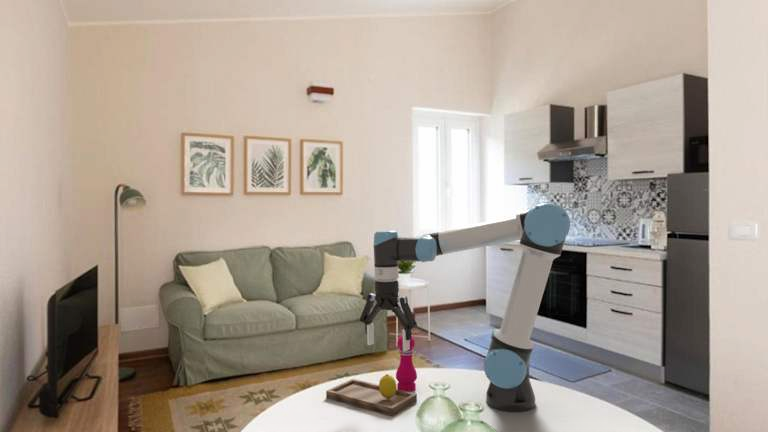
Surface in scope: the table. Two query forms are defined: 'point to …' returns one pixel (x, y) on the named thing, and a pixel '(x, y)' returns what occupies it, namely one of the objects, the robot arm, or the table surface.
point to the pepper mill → (406, 368)
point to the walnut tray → (370, 397)
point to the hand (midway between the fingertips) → (388, 347)
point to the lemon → (387, 386)
